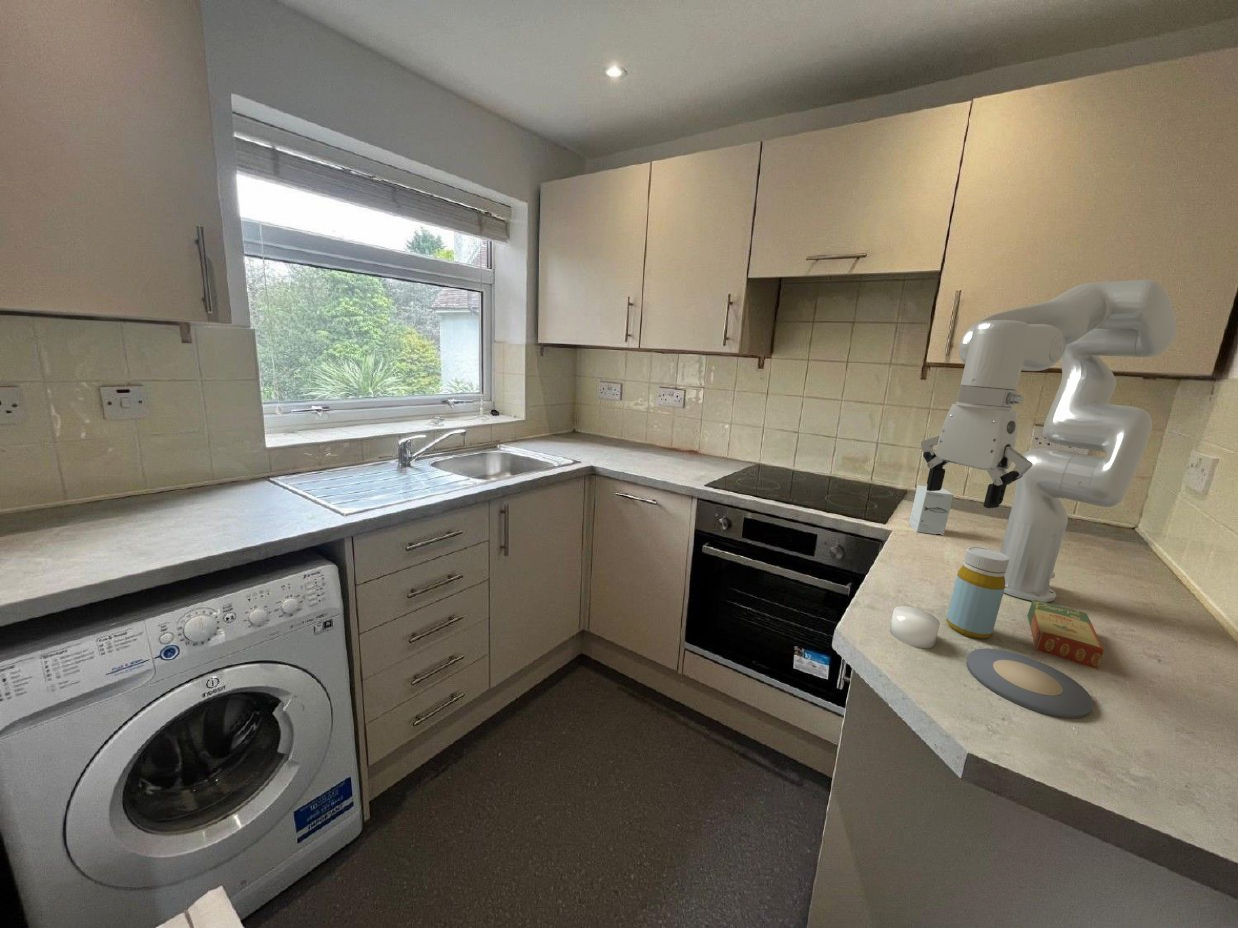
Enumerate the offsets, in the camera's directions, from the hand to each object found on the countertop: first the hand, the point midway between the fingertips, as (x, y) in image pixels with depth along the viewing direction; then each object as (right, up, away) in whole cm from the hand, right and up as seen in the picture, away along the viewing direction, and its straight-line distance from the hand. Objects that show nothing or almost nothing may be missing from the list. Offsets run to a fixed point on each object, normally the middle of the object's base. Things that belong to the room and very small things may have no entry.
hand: (960, 498), depth 86 cm
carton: (+21, -26, +5) cm, 34 cm away
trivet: (+4, -28, -9) cm, 29 cm away
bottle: (+5, -25, +6) cm, 26 cm away
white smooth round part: (-7, -24, +2) cm, 26 cm away
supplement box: (+32, -14, +62) cm, 71 cm away
